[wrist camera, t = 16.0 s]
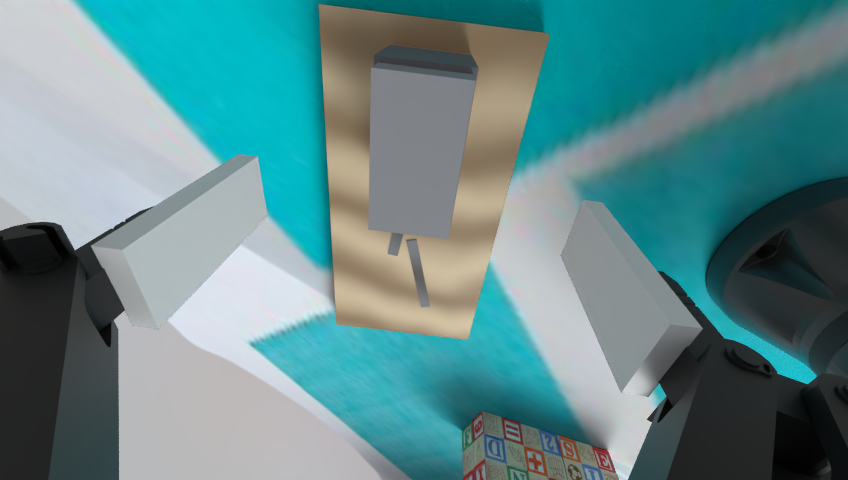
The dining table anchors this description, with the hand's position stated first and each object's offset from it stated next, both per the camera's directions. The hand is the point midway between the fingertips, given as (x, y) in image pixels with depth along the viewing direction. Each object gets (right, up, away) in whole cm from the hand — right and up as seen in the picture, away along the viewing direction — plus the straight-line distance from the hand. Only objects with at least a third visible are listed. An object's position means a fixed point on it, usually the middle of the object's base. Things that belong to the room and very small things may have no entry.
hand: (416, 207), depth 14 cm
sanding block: (0, +7, +10) cm, 12 cm away
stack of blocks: (+17, -30, +36) cm, 50 cm away
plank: (0, +1, +15) cm, 15 cm away
